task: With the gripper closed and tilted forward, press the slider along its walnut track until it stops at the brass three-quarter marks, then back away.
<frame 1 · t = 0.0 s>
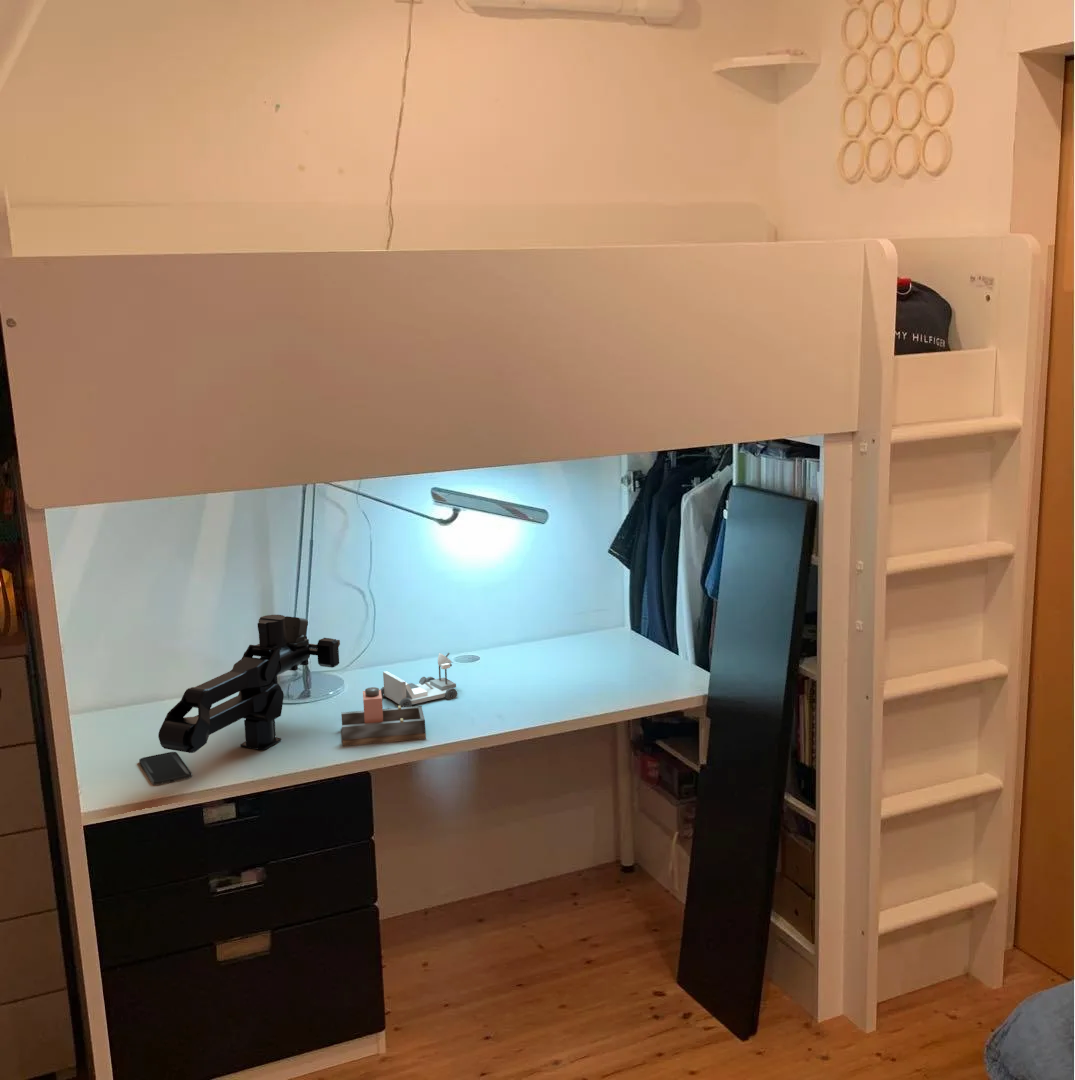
hand: (322, 640, 272), 17 cm above the table, tool horizontal, fingers open, 9 cm apart
toy car: (423, 698, 281), on the table
phone: (165, 772, 239), on the table
slider: (373, 709, 255), point 6 cm above the table, slide at 0.0 cm
track: (383, 733, 257), on the table
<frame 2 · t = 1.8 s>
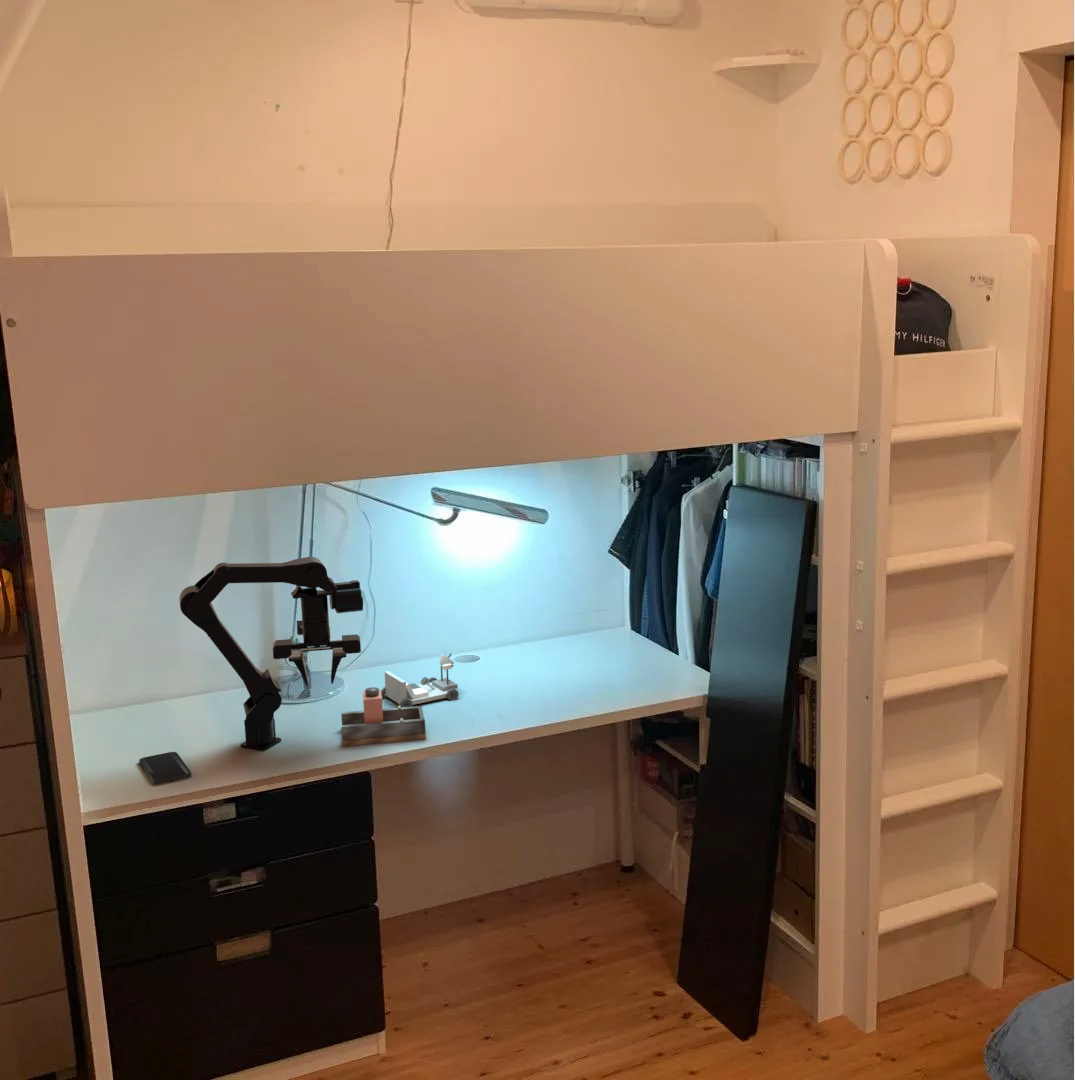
hand: (319, 684, 254), 12 cm above the table, tool pointing down, fingers open, 5 cm apart
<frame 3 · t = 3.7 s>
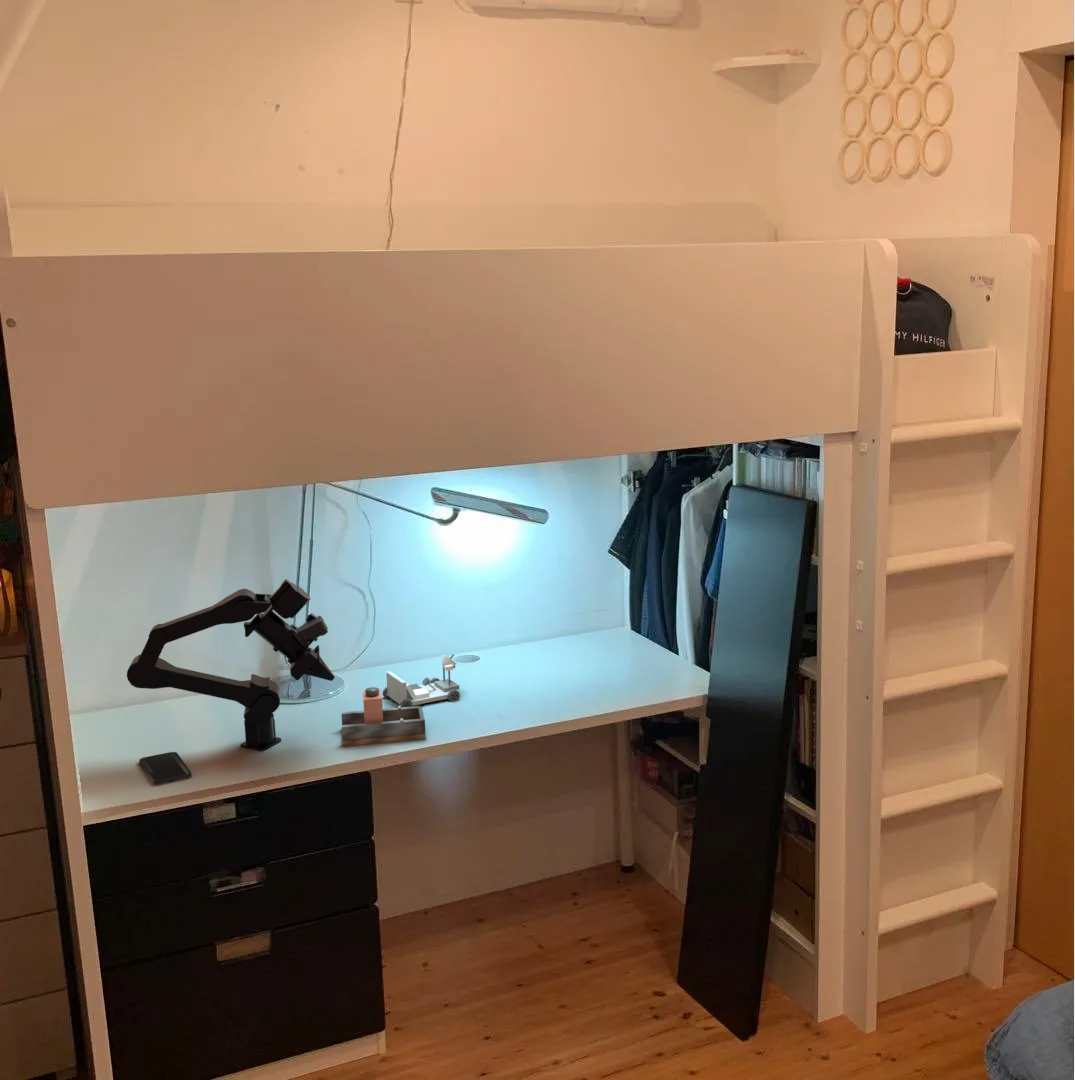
hand: (333, 678, 252), 14 cm above the table, tool tilted 45°, fingers closed
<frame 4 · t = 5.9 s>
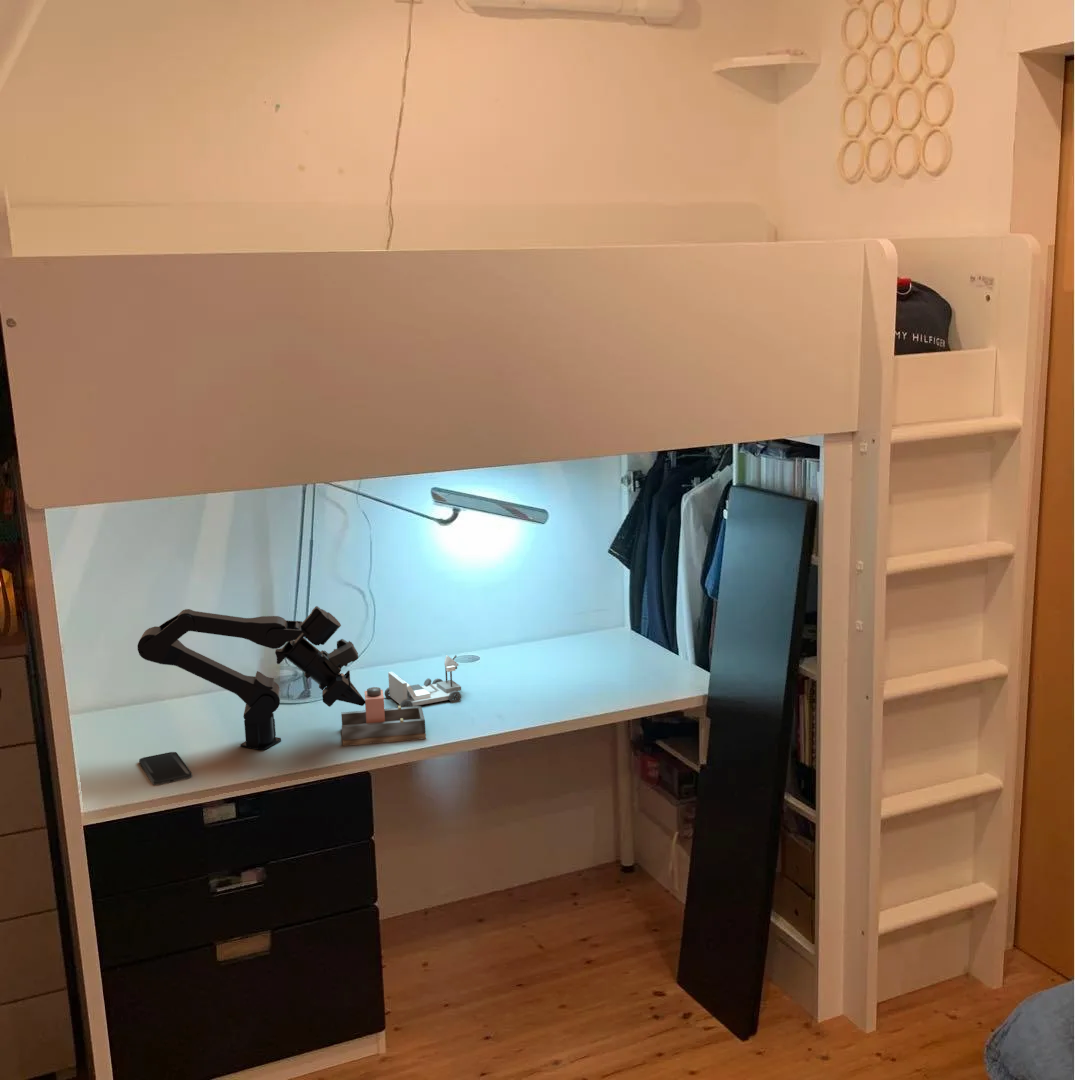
hand: (364, 703, 255), 7 cm above the table, tool tilted 45°, fingers closed, pressing on slider
slider: (374, 709, 256), point 6 cm above the table, slide at 0.4 cm, touching gripper
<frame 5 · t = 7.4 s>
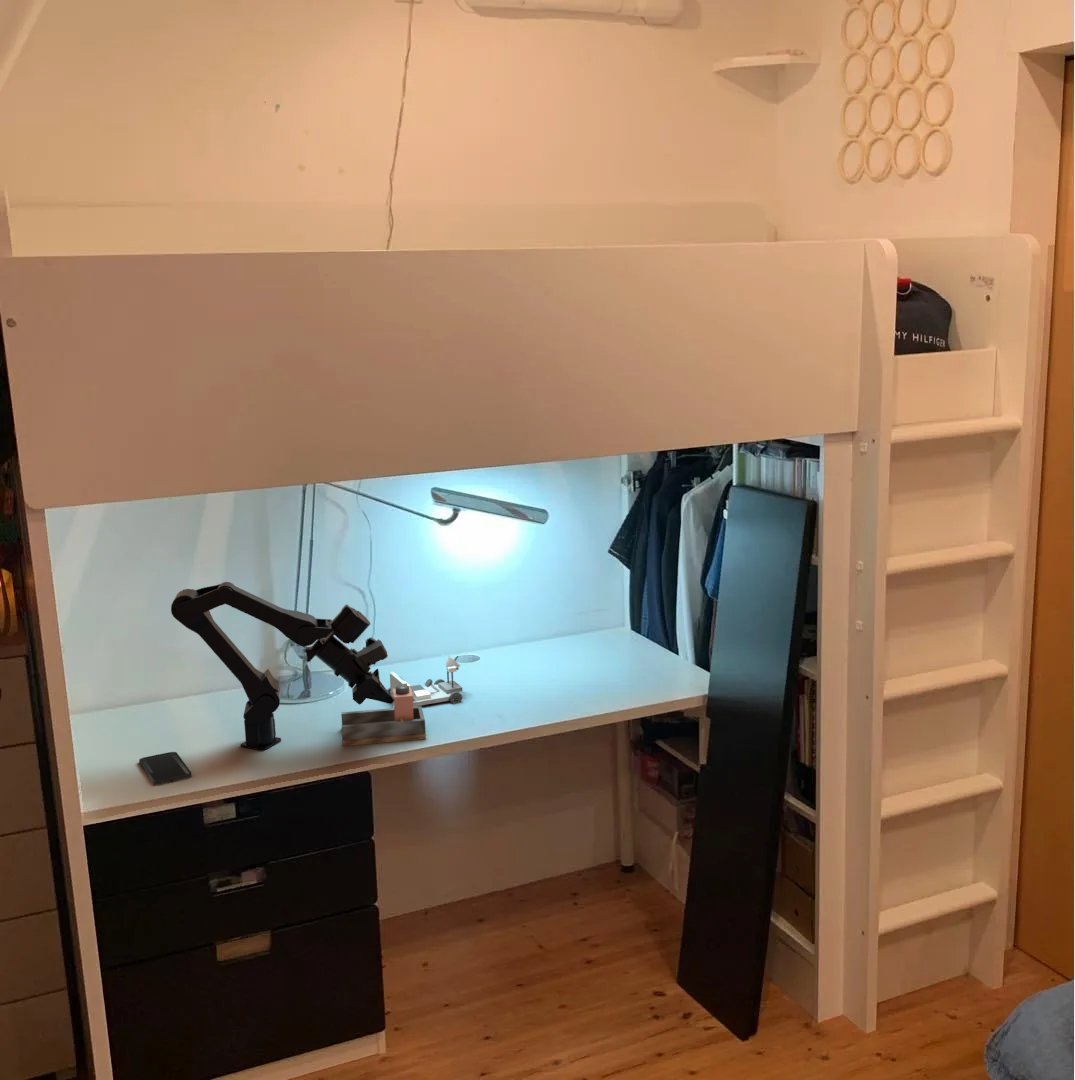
hand: (392, 702, 256), 7 cm above the table, tool tilted 45°, fingers closed, pressing on slider
slider: (403, 706, 257), point 6 cm above the table, slide at 6.7 cm, touching gripper
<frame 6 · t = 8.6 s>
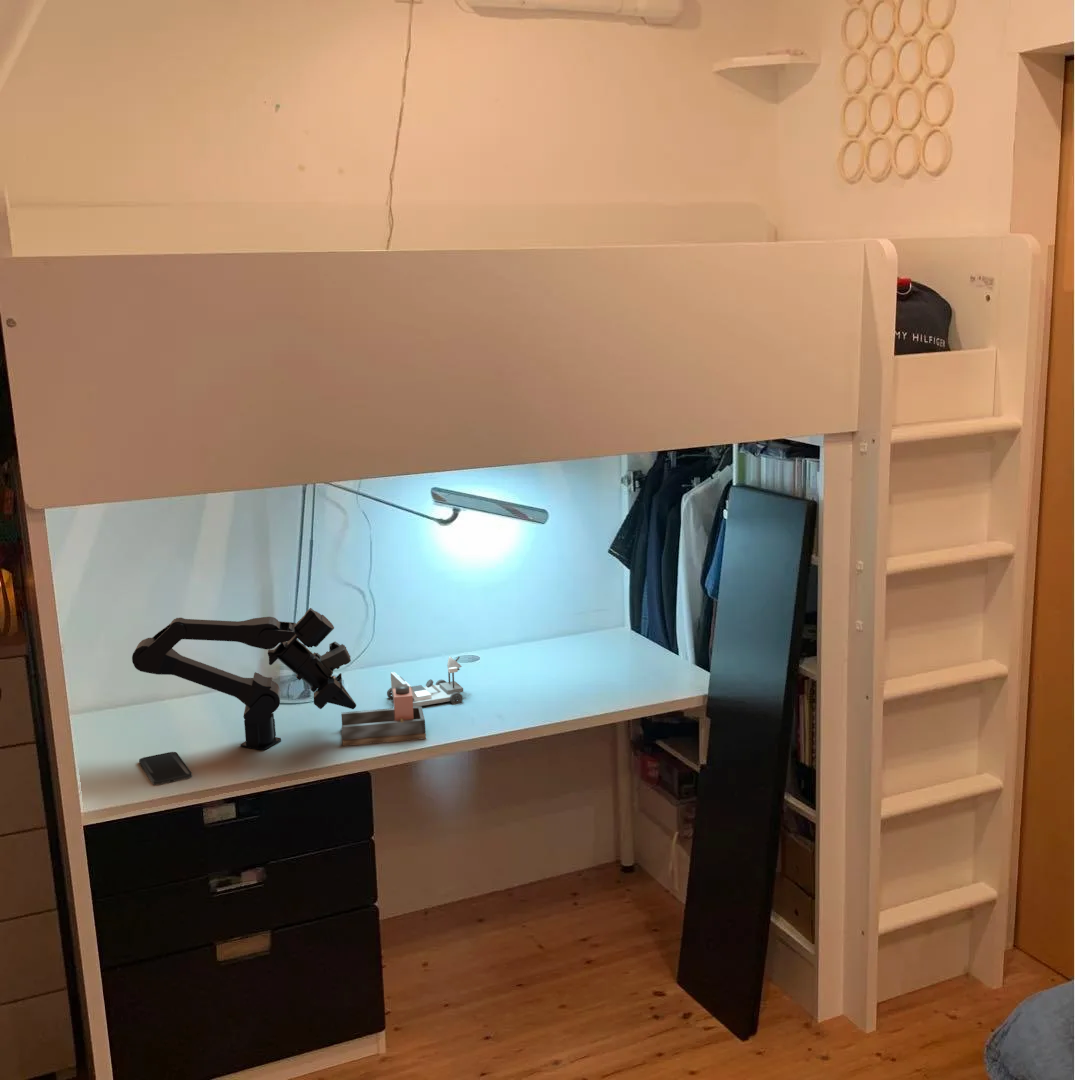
hand: (355, 707, 255), 7 cm above the table, tool tilted 45°, fingers closed
slider: (403, 706, 257), point 6 cm above the table, slide at 6.7 cm
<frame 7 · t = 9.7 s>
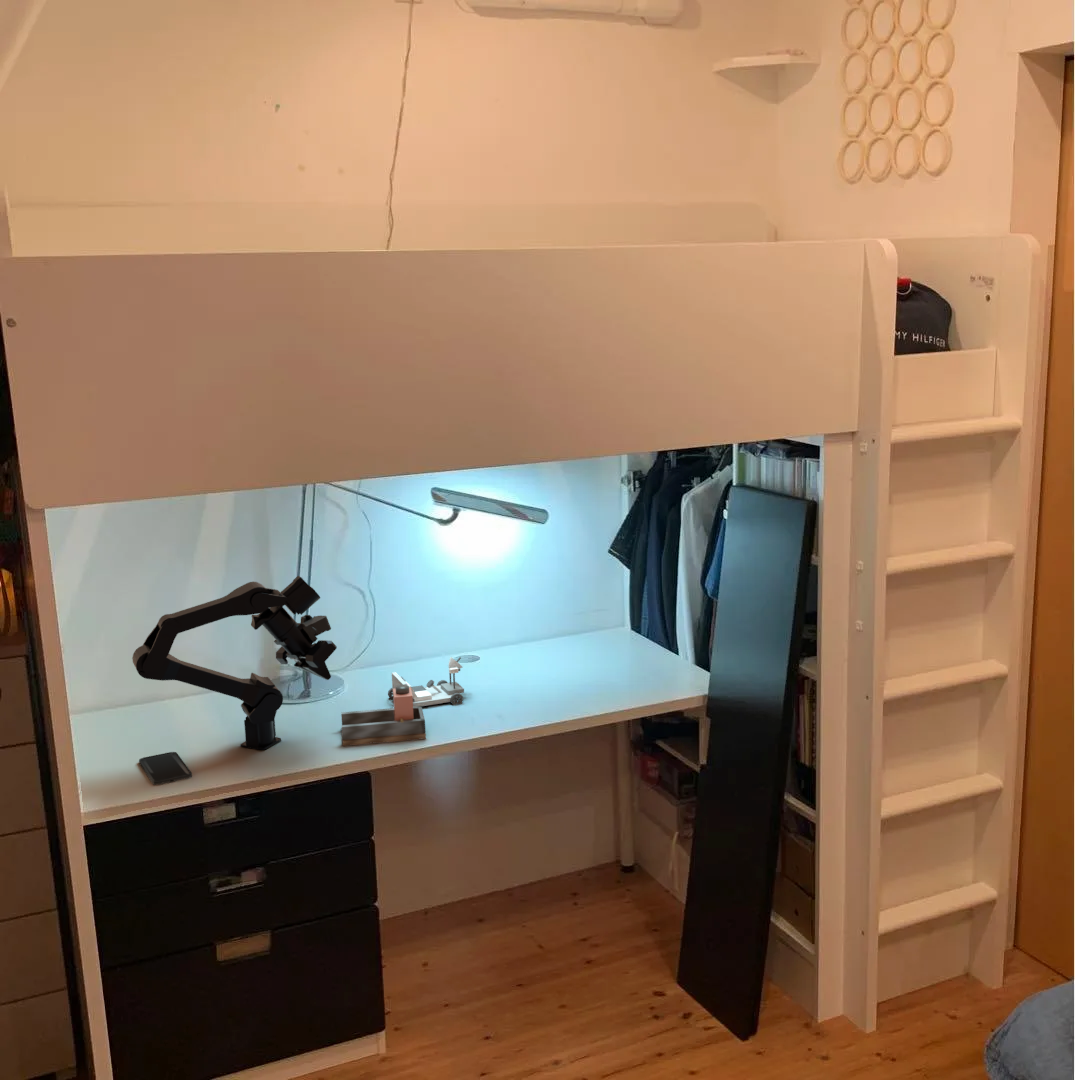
hand: (329, 678, 257), 12 cm above the table, tool tilted 35°, fingers closed
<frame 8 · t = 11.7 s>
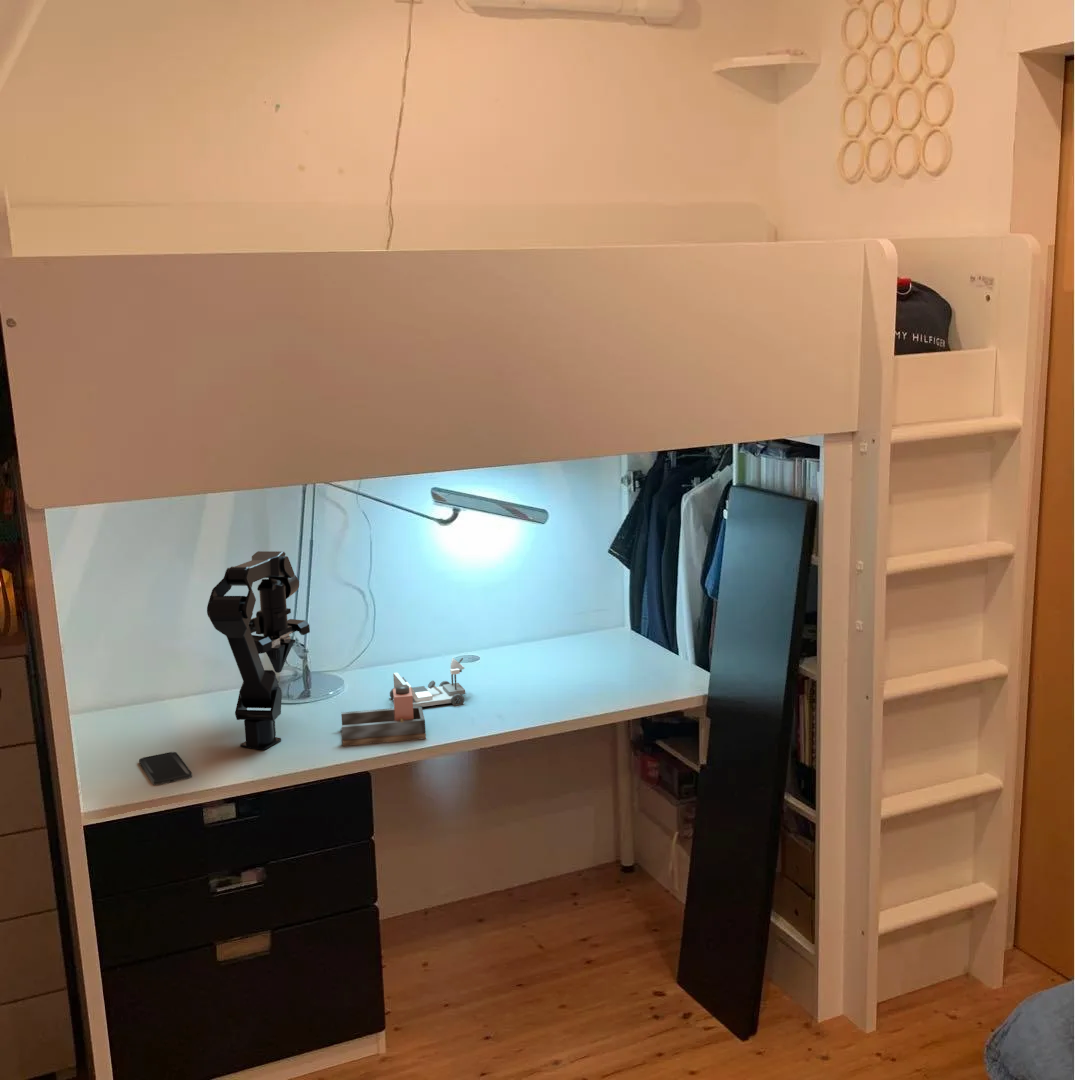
hand: (278, 672, 263), 12 cm above the table, tool pointing down, fingers closed
at the end: slider slide at 6.7 cm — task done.
